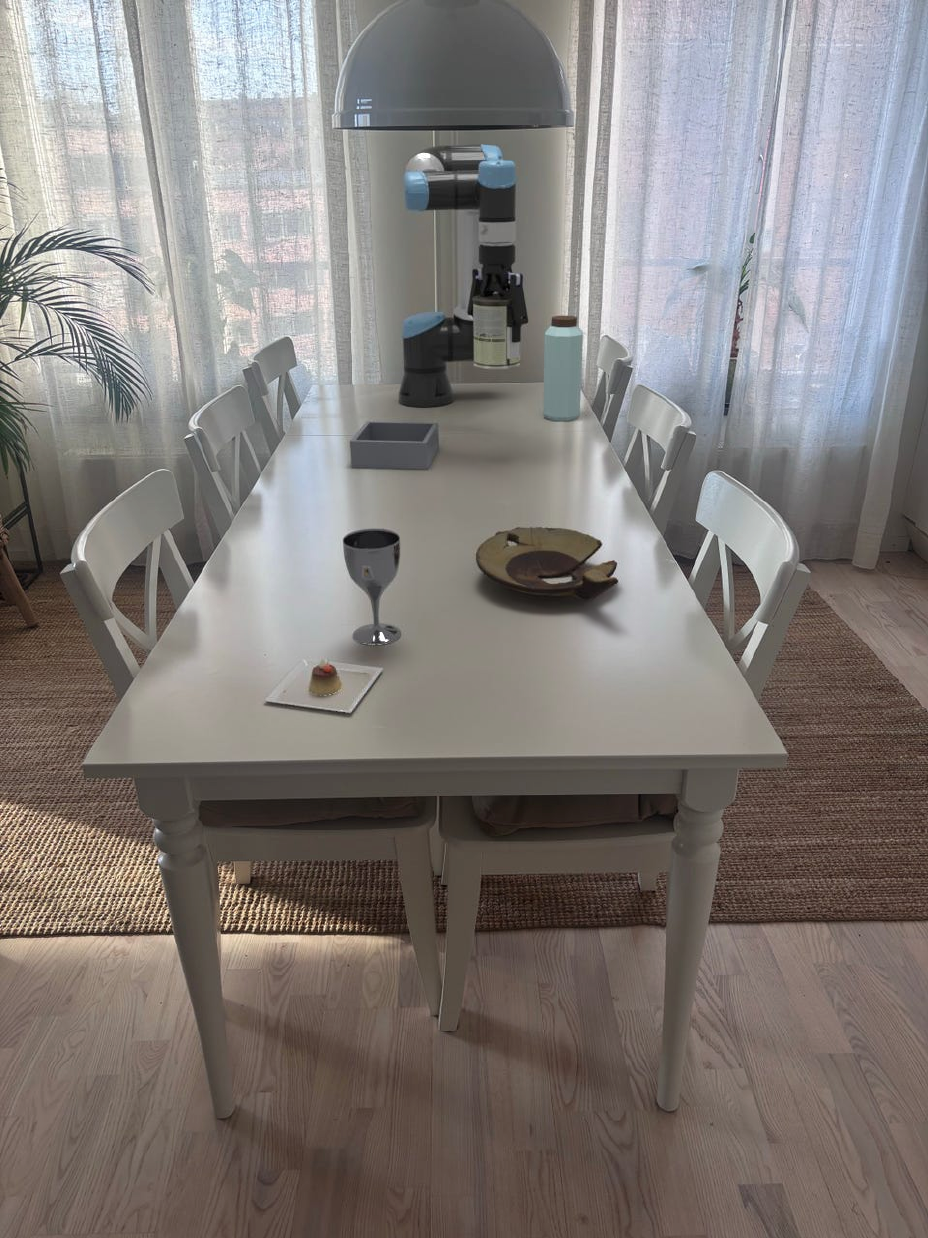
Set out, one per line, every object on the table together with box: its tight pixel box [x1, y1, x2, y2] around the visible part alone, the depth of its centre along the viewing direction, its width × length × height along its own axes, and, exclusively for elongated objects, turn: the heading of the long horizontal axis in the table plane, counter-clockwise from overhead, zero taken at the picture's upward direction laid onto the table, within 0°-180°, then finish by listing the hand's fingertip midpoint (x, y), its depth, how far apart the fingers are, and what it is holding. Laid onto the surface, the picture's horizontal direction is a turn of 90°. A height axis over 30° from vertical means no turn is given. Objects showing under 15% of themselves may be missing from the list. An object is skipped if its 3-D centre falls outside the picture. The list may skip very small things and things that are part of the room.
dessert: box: [263, 657, 384, 714], centre depth 128 cm, size 12×12×5 cm
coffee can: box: [472, 293, 522, 371], centre depth 208 cm, size 10×10×14 cm
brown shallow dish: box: [475, 526, 619, 601], centre depth 155 cm, size 22×30×8 cm
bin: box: [349, 420, 440, 471], centre depth 222 cm, size 17×17×6 cm
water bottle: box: [542, 315, 584, 422], centre depth 248 cm, size 10×10×25 cm
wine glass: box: [342, 528, 402, 645], centre depth 140 cm, size 8×8×15 cm
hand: (496, 353), depth 210 cm, fingers closed on coffee can, 10 cm apart
